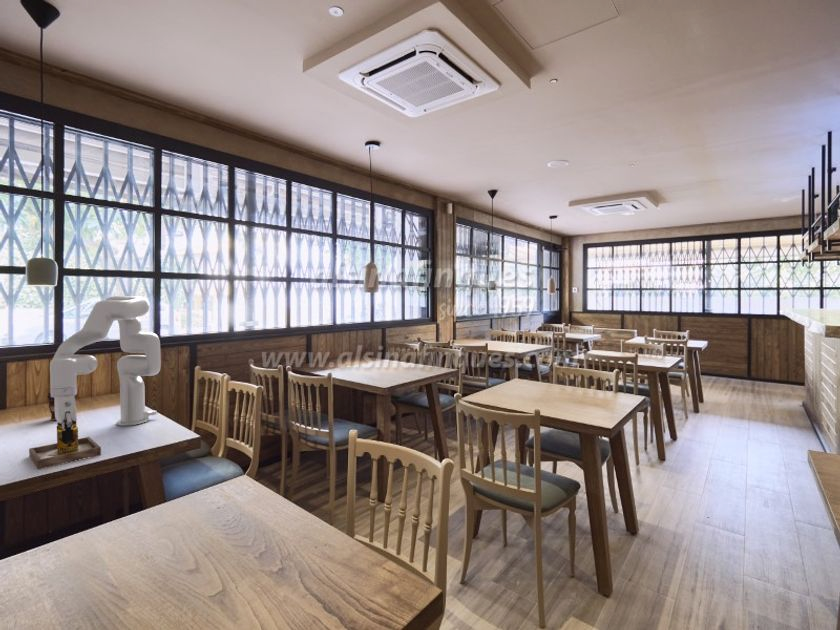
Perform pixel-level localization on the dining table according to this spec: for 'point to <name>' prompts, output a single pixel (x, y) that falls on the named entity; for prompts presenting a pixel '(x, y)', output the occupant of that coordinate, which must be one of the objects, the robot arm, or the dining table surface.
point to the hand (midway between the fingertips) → (65, 437)
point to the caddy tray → (44, 460)
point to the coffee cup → (52, 406)
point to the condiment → (67, 445)
